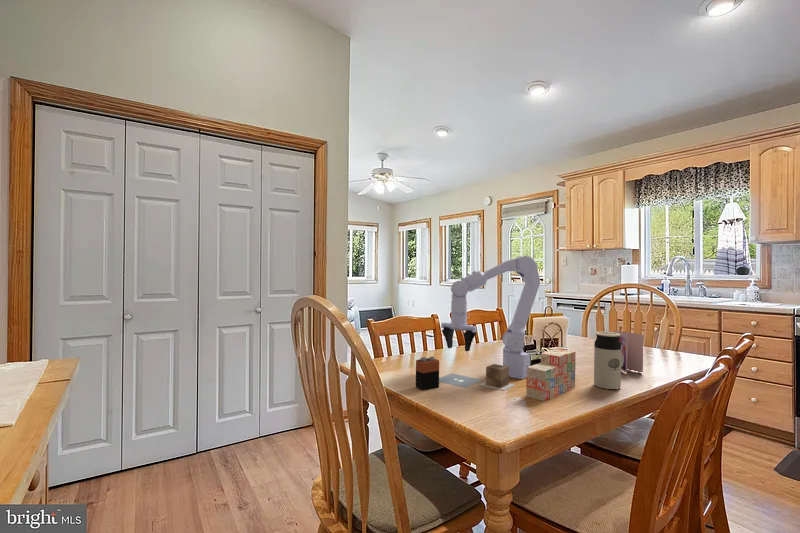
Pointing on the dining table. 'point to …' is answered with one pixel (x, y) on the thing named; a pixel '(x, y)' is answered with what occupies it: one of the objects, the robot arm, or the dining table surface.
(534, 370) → the stack of blocks
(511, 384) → the rubber mat
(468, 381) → the blue-gray square plate
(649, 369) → the dining table surface
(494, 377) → the walnut block
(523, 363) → the robot arm
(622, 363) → the greeting card
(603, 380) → the travel mug
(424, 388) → the battery
